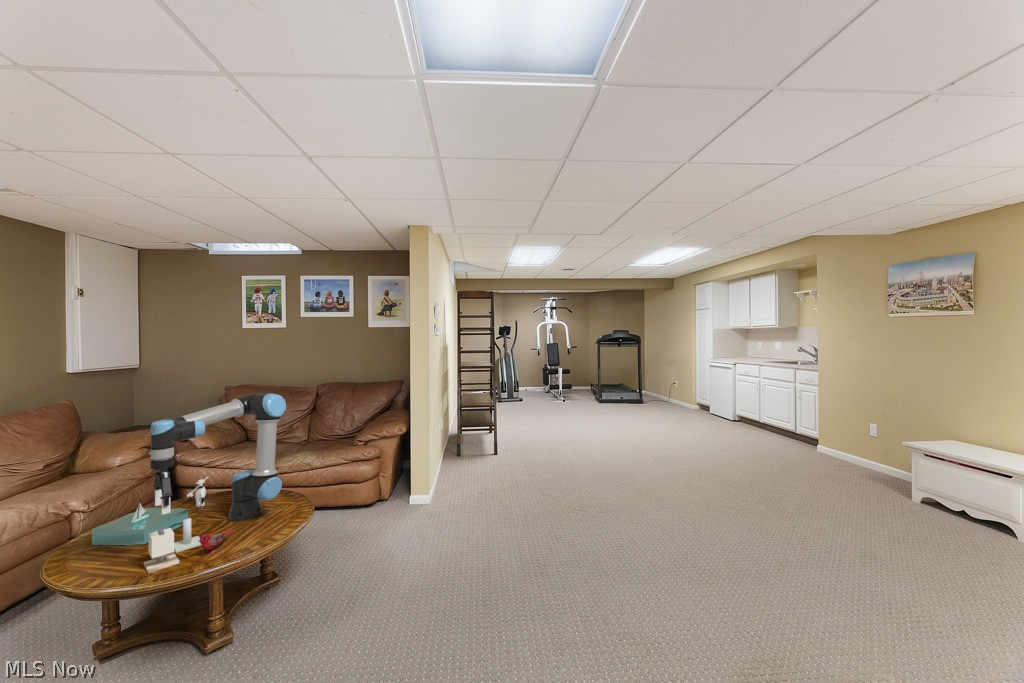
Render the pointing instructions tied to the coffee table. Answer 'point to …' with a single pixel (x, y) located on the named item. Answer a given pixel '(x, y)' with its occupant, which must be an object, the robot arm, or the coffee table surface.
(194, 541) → the post
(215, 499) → the coffee table surface
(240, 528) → the coffee table surface
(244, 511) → the robot arm
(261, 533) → the coffee table surface
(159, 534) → the white drawer box
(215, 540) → the decorative bird figurine
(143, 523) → the sailboat water diorama
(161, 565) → the post
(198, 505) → the cricket player figurine
